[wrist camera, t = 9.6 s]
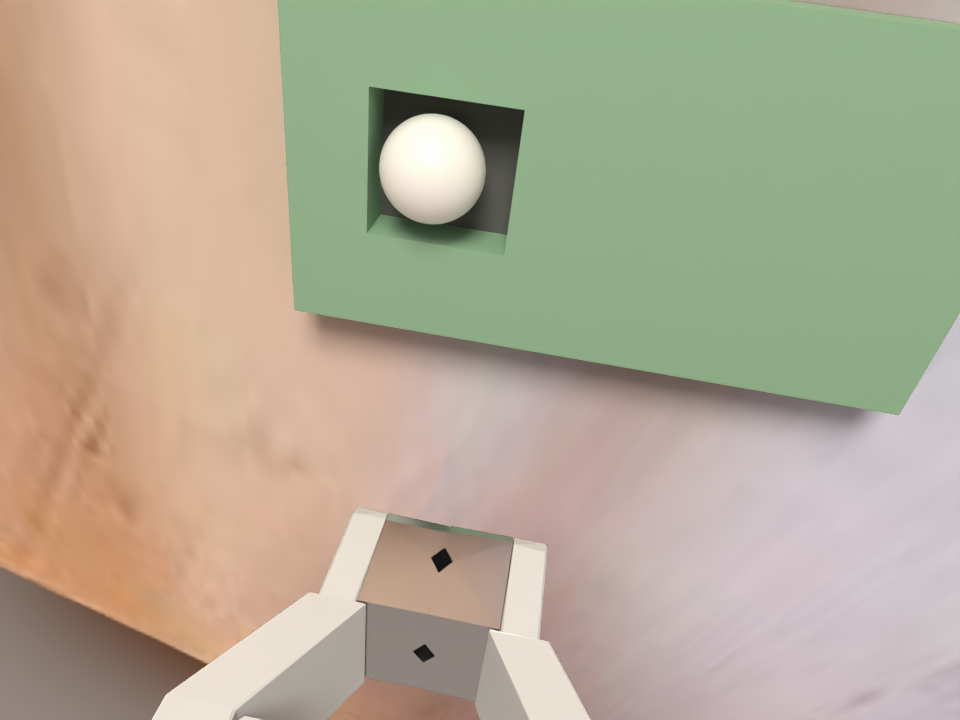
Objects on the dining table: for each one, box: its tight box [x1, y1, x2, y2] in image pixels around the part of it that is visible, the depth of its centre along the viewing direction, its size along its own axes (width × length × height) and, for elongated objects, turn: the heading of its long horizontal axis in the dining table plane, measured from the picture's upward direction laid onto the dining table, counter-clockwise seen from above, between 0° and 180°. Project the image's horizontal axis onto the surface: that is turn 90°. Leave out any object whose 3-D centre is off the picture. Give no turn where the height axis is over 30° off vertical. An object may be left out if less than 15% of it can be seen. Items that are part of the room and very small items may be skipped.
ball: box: [379, 114, 486, 224], centre depth 25 cm, size 4×4×4 cm
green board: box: [278, 0, 960, 415], centre depth 26 cm, size 26×14×2 cm, turn 84°
